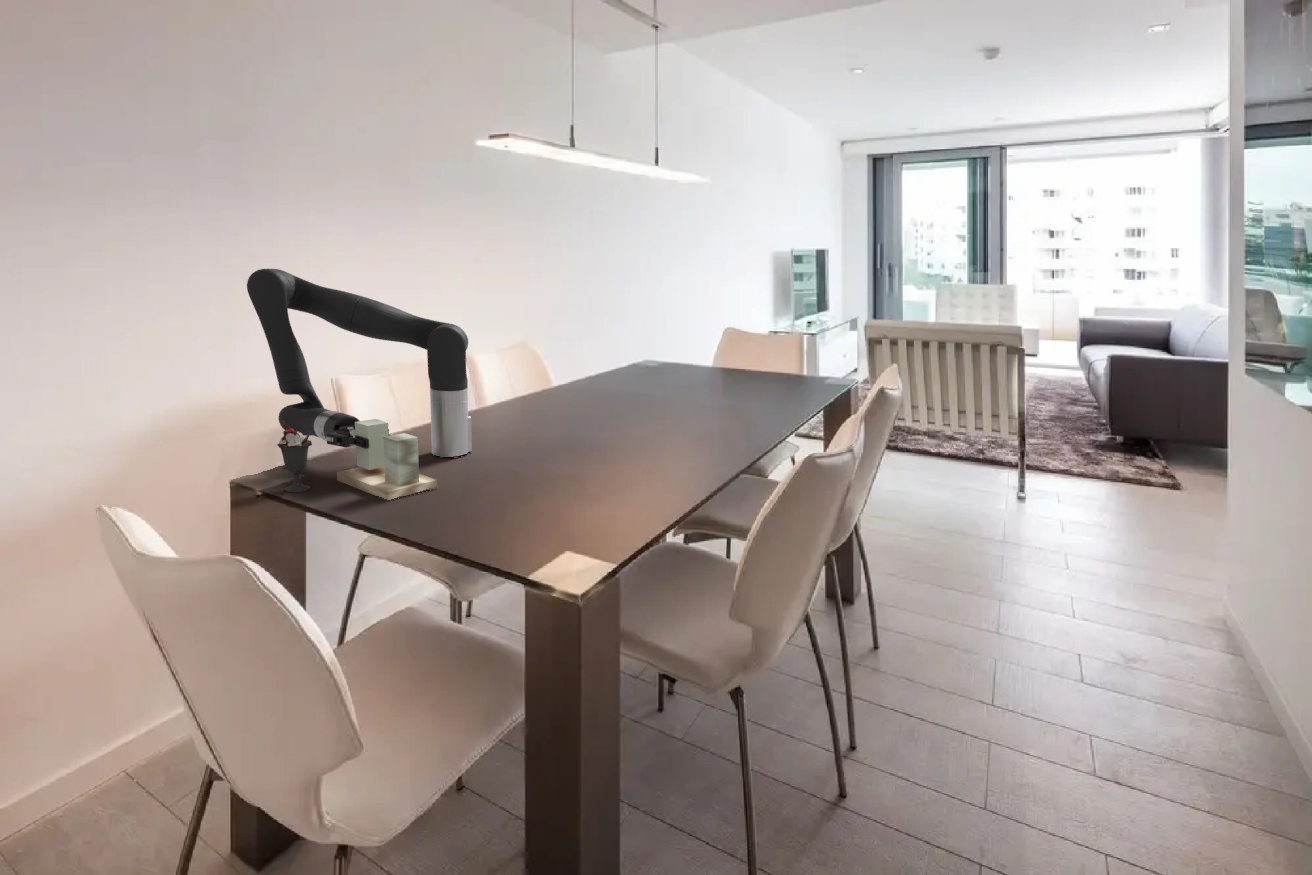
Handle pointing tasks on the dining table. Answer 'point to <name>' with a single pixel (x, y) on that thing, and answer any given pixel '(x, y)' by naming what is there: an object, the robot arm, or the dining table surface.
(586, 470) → the dining table surface
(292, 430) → the sundae
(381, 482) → the board
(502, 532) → the dining table surface
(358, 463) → the green block
